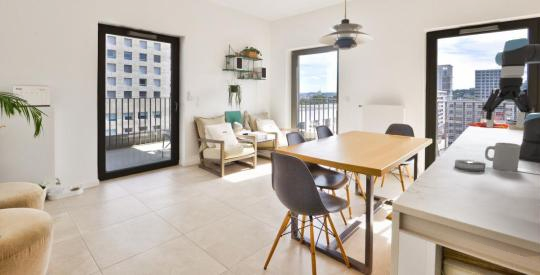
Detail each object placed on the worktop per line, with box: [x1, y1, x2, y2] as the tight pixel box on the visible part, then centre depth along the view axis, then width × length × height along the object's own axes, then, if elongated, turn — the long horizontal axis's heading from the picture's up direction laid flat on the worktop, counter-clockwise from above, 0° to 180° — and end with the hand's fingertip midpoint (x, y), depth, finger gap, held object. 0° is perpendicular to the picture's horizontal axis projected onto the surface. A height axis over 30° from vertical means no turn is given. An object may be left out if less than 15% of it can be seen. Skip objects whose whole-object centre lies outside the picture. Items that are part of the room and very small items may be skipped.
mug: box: [484, 142, 521, 173], centre depth 125 cm, size 12×8×11 cm
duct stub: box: [454, 158, 487, 173], centre depth 125 cm, size 11×11×3 cm
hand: (504, 127), depth 123 cm, fingers open, 13 cm apart
